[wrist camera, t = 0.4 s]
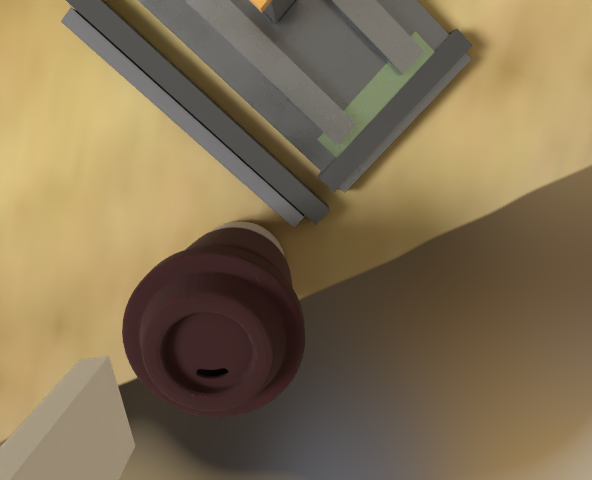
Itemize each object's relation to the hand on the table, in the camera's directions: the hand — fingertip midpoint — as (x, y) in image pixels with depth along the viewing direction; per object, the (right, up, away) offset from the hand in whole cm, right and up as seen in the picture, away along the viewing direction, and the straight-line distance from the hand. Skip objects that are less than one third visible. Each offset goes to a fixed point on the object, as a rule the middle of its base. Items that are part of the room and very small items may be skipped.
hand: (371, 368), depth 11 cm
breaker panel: (-3, +20, +21) cm, 29 cm away
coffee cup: (-6, +1, +26) cm, 27 cm away
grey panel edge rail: (+5, +13, +23) cm, 26 cm away
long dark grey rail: (-9, +13, +22) cm, 27 cm away
